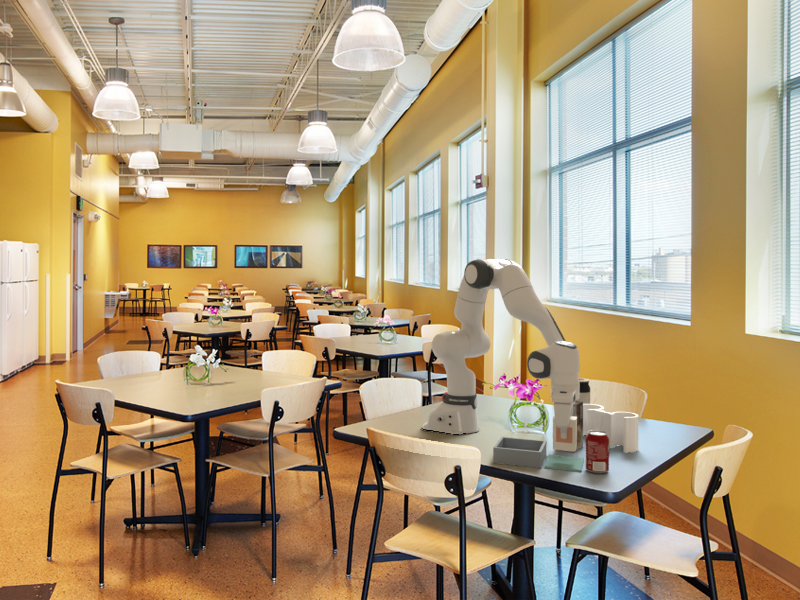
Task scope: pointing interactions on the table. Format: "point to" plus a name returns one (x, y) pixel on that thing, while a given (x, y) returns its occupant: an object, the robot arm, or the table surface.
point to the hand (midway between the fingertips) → (564, 435)
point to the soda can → (597, 452)
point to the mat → (564, 463)
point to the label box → (571, 440)
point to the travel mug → (584, 391)
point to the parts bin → (520, 452)
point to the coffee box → (578, 423)
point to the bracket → (612, 426)
